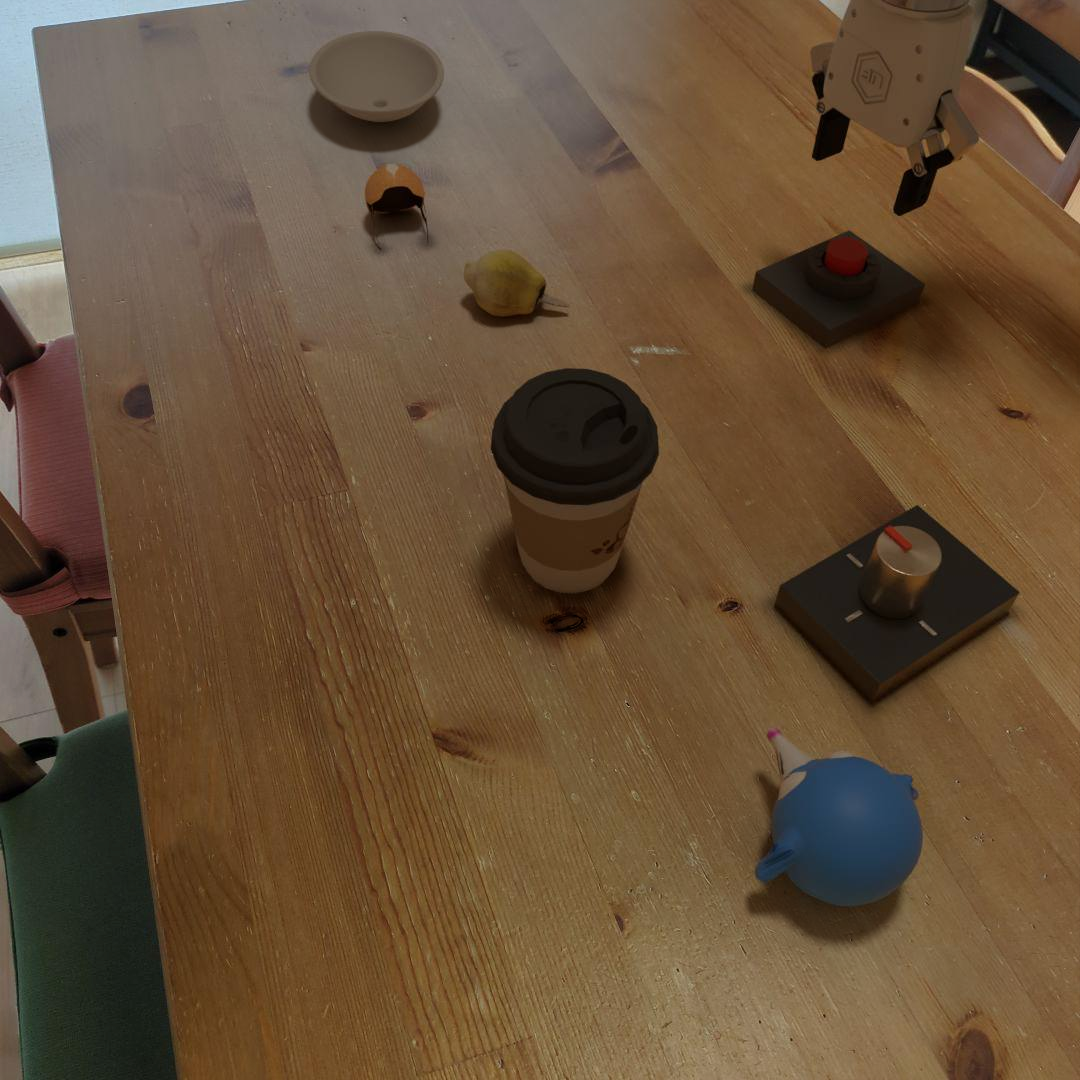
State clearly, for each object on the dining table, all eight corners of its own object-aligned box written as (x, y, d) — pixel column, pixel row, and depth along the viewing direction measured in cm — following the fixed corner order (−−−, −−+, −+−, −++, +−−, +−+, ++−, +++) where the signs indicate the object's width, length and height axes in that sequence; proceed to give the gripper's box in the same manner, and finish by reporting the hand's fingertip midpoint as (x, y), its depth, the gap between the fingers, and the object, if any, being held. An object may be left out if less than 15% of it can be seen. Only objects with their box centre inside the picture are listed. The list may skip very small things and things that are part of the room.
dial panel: (908, 525, 87) (918, 503, 85) (1008, 612, 82) (1021, 590, 80) (773, 605, 82) (780, 583, 80) (870, 703, 76) (880, 682, 74)
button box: (844, 248, 110) (853, 213, 106) (918, 302, 104) (931, 267, 101) (751, 290, 105) (758, 255, 102) (824, 349, 100) (834, 313, 97)
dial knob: (934, 601, 79) (957, 555, 75) (889, 629, 77) (910, 583, 73) (890, 560, 81) (910, 513, 77) (845, 586, 80) (863, 539, 76)
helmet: (431, 254, 113) (417, 178, 113) (435, 232, 106) (420, 151, 106) (374, 262, 112) (360, 185, 112) (375, 240, 105) (359, 158, 105)
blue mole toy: (830, 724, 75) (860, 655, 69) (949, 873, 69) (994, 812, 62) (682, 800, 72) (698, 735, 65) (792, 965, 65) (823, 911, 59)
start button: (844, 248, 104) (848, 232, 102) (871, 268, 102) (876, 252, 100) (815, 261, 102) (819, 245, 101) (843, 281, 100) (847, 265, 99)
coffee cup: (601, 642, 79) (615, 503, 68) (465, 579, 83) (456, 437, 71) (668, 535, 86) (691, 392, 74) (539, 481, 89) (542, 336, 78)
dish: (302, 83, 128) (296, 40, 125) (423, 65, 131) (420, 23, 128) (333, 164, 118) (326, 120, 114) (464, 142, 121) (462, 99, 117)
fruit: (564, 337, 101) (455, 316, 100) (566, 312, 106) (462, 291, 105) (576, 277, 97) (464, 254, 97) (578, 253, 102) (471, 232, 102)
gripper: (804, -55, 85) (765, 148, 98) (978, 37, 76) (909, 247, 89) (874, -77, 88) (827, 123, 101) (1050, 10, 79) (973, 217, 92)
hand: (866, 181), depth 95 cm, fingers open, 9 cm apart
